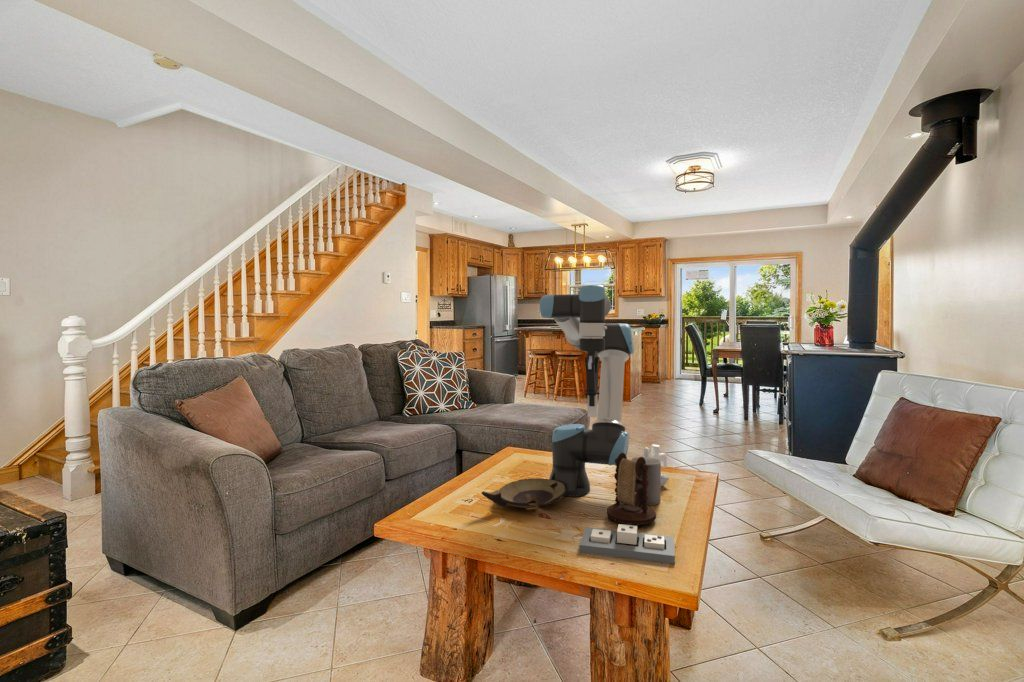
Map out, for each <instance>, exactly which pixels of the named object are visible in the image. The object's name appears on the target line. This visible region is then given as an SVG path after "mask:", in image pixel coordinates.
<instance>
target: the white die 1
mask: <svg viewBox="0 0 1024 682" xmlns="http://www.w3.org/2000/svg"><path fill="white" fill-rule="evenodd" d="M591 541H593V542H602V543H611V542H612V541H611V531H609V530H599V529H593V530H592V533H591Z"/></svg>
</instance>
